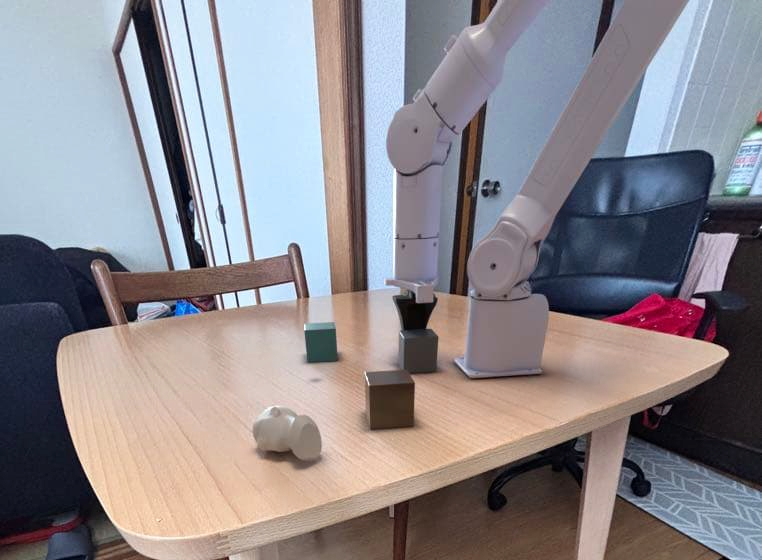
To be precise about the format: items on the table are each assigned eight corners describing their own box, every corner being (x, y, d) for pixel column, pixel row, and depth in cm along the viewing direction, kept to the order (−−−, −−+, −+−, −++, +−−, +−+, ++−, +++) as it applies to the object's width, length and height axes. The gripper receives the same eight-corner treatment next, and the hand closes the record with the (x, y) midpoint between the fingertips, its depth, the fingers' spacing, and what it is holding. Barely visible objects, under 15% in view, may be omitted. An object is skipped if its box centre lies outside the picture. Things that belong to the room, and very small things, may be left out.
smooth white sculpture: (254, 454, 47) (295, 427, 48) (290, 483, 41) (335, 452, 42) (233, 417, 44) (277, 389, 45) (269, 443, 38) (318, 411, 39)
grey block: (429, 362, 66) (431, 328, 64) (436, 371, 63) (438, 336, 60) (398, 364, 66) (398, 330, 64) (403, 373, 63) (404, 338, 60)
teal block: (336, 353, 73) (334, 321, 70) (337, 360, 69) (335, 328, 66) (307, 354, 72) (304, 323, 70) (307, 362, 69) (304, 330, 66)
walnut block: (406, 410, 52) (407, 369, 49) (413, 426, 48) (415, 382, 45) (365, 413, 51) (364, 372, 49) (370, 429, 48) (369, 385, 45)
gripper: (378, 236, 64) (379, 340, 72) (392, 243, 53) (392, 366, 61) (428, 233, 65) (423, 337, 73) (454, 240, 53) (445, 363, 61)
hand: (412, 350), depth 67 cm, fingers closed
